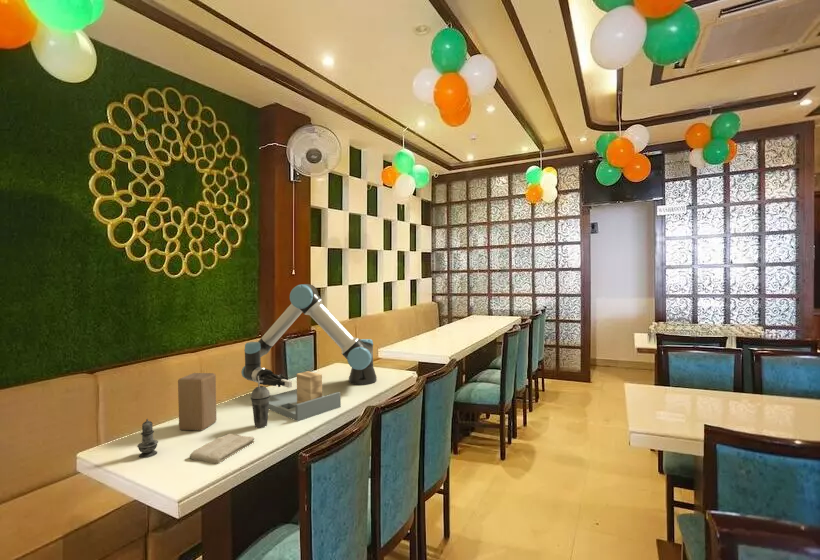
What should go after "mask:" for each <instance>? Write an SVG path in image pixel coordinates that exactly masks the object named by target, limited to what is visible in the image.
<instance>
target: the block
mask: <svg viewBox="0 0 820 560" xmlns="http://www.w3.org/2000/svg"><path fill="white" fill-rule="evenodd" d="M216 378H217V377H216V373H213V372H212V373H211V372H194V373H193V372H192V373H191V374H188V375H185V376H183V377H181V378H178V381H177V390H178V393H177V395H178V396H177V397H178V398H177V399H178V428H179V430H180V431H203V430H205V429H207V428H208V427H210V426H212V425H214V424H215V423H216V422H217V418H218V417H217V386H216V385H217V384H216V382H217V381H216V380H217V379H216Z"/></svg>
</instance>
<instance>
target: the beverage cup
mask: <svg viewBox="0 0 820 560" xmlns="http://www.w3.org/2000/svg"><path fill="white" fill-rule="evenodd" d="M257 378H258V383H257V385H258V386H256V387H255V388H254V389H253V390H252V392H251V394H250V400H251V405H252V413H253V423H254V427H255V428H256V427H257V429H262V428H261V427H263V428H265V426H266V427H267V426H268V421H269V409H268V408H269V400H270V396H271V393H270V390H269V389H268V387H266V386H265V385H261V384H260V383H259V376H257Z"/></svg>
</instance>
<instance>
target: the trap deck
mask: <svg viewBox="0 0 820 560" xmlns="http://www.w3.org/2000/svg"><path fill="white" fill-rule="evenodd" d="M341 399H342V397H341V392H340V391H336V392H332V393H330V394H328V395H322V397H319V398H316V399H313V400H309V401H306V402H302V403H299V404H298V403H297V388H295V389H291V390H288V391H284V392H279V393H276V394H273V395H270V400H269V408H268V410H269V409H270V411H271V412H274V411H275V412H274V413H277V414H279V413H280V415H281V414H282V415H281V416H284V417H286V418H289V419H291V418H292V419H291V420H293V419H294V421H296V422H300V421H303V420H305V419H309V418H311V417H312V418H313V417H315V416H318V415H321V414H324V413H327V412H330V411H333V410H336V409H339V408H341V406H342V405H341V404H342V403H341V402H342V401H341Z"/></svg>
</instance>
